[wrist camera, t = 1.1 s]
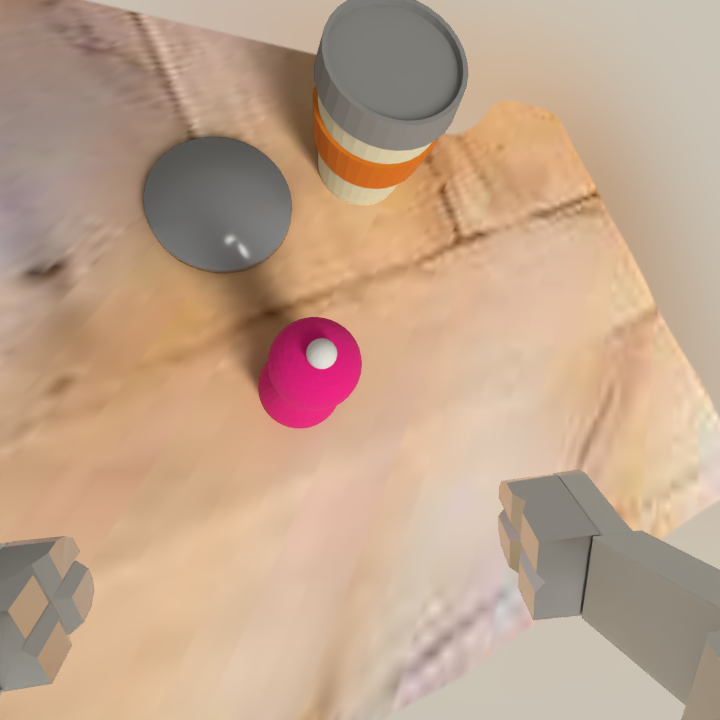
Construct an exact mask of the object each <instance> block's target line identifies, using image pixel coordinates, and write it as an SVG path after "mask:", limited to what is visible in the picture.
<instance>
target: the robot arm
mask: <svg viewBox="0 0 720 720" xmlns="http://www.w3.org/2000/svg"><path fill="white" fill-rule="evenodd" d="M499 499H500V501H501V503H502V505H503V507H504V510H503V511H502V512H501V513H500V515H499V516H498V523H499V535H500V541H501V546H502V549H503V552H504V555H505V558H506V560H507V563H508V565H509V567H510V568H512V569H513V570H515V571H516V572H517V573H519V582H518V588H519V590H520V592H521V594H522V597H523V599H524V601H525V603H526V606H527V608H528V610H529V612H530V614H531V617H532V619H533V620H540V619H549V618H559V617H569V616H579V615H582V618H583V619H584V620H585V621H586V622H588V624H590V625H591V626H592V627H593V628H594V629H596V630H597V631H598V632H599V633H600V634H601V635H603V636H604V637H605V638H606V639H607V640H609V641H610V642H611V643H612V644H613V645H615V646H616V647H617V648H618V649H619V650H620V651H622V652H623V653H624V654H625V655H627V656H628V657H629V658H630V659H631V660H632V661H634V662H635V663H636V664H637V665H638V666H640V667H641V668H642V669H643V670H644V671H645V672H647V673H648V674H649V675H650V676H651V677H652V678H654V679H655V680H656V681H657V682H658V683H660V684H661V685H662V686H663V687H664V688H666V689H667V690H668V691H669V692H670V693H672V694H673V695H674V696H675V697H676V698H677V699H679V700H680V701H681V702H682V703H683V704H685V705H686V707H685V709H684V713H683V716H682V719H681V720H720V570H719V569H717V568H715V567H713V566H711V565H709V564H707V563H705V562H703V561H701V560H699V559H697V558H695V557H693V556H691V555H689V554H687V553H685V552H683V551H681V550H679V549H677V548H675V547H673V546H671V545H669V544H667V543H665V542H663V541H661V540H659V539H657V538H655V537H653V536H651V535H649V534H647V533H645V532H643V531H632V530H631V528H630V527H629V526H628V525H627V523H626V522H625V521H624V520H623V519H622V517H621V516H620V515H619V514H618V512H617V511H616V510H615V509H614V508H613V506H612V505H611V504H610V503H609V502H608V500H607V499H606V498H605V497H604V495H603V494H602V493H601V492H600V491H599V489H598V488H597V487H596V486H595V484H594V483H593V482H592V481H591V480H590V478H589V477H588V476H587V475H586V473H585V472H583V471H581V470H574V471H567V472H561V473H554V474H553V475H543V476H535V477H528V478H520V479H513V480H505V481H501V484H500V487H499ZM79 552H80V550H79V548H78V546H77V545H76V543H75V541H74V539H73V538H71V537H66V536H62V537H52V538H42V539H32V540H23V541H13V542H10V543H0V696H1V692H3V691H10V690H16V689H22V688H28V687H34V686H40V685H47V684H52V683H53V681H54V679H55V677H56V675H57V673H58V671H59V670H60V668H61V666H62V664H63V662H64V660H65V658H66V656H67V654H68V652H69V650H70V648H71V646H72V644H71V640H70V634H71V633H72V632H73V631H74V630H75V629H77V628H78V627H79V626H80V625H81V624H82V623H83V622H84V621H85V619H86V617H87V615H88V613H89V611H90V609H91V606H92V600H93V594H94V585H93V578H92V576H91V573H90V571H89V569H88V568H87V567H85V566H84V565H82V564H81V563H79V562H77V561H76V559H77V557H78V554H79Z"/></svg>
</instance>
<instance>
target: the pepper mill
mask: <svg viewBox="0 0 720 720" xmlns="http://www.w3.org/2000/svg"><path fill="white" fill-rule="evenodd" d="M361 367H362V361H361V354H360V350H359V347H358V345H357V342H356V340H355V339H354V338H353V336H352V335H351V333H350V332H349V331H348V330H346V329H345V328H344V327H343V326H341V325H340V324H338V323H336V322H334V321H332V320H329V319H326V318H319V317H309V318H304V319H300V320H298V321H295V322H293V323H291V324H290V325H288V326H287V327H286V328H284V329H283V330H282V331H281V332H280V333H279V335H278V336H277V337H276V338H275V340H274V342H273V344H272V346H271V348H270V352H269V356H268V362H267V363H266V365H265V366H264V368H263V370H262V372H261V375H260V378H259V385H258V391H259V397H260V400H261V403H262V405H263V407H264V409H265V410H266V412H267V413H268V414H269V415H270V416H271V417H272V418H273V419H274V420H275V421H277V422H278V423H280V424H282V425H284V426H287V427H291V428H308V427H312V426H315V425H317V424H319V423H321V422H322V421H324V420H325V419H326V418H328V417H329V415H330V414H331V413H332V412H333V411H334V409H335V407H336V406H337V405H338V404H340V403H341V402H343V401H344V400H345V399H346V398H347V397H348V396H349V395H350V394H351V393H352V391H353V390H354V389H355V387H356V385H357V383H358V381H359V378H360V374H361Z"/></svg>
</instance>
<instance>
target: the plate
mask: <svg viewBox="0 0 720 720" xmlns="http://www.w3.org/2000/svg"><path fill="white" fill-rule="evenodd" d="M144 209H145V213H146V217H147V220H148V222H149V225H150V227H151V229H152V231H153V233H154V235H155V236H156V238H157V240H158V241H159V242H160V244H161V245H162V246H163V247H164V248H165V249H166V250H167V251H168V252H169V253H170V254H171V255H172V256H174V257H175V258H176V259H178V260H179V261H181V262H183V263H185V264H186V265H189V266H191V267H193V268H196V269H199V270H203V271H207V272H213V273H233V272H239V271H243V270H246V269H249V268H252V267H254V266H256V265H258V264H260V263H262V262H263V261H265V260H266V259H268V258H269V257H270V256H271V255H272V254H274V253H275V252H276V250H277V249H278V248H279V247H280V245H281V244H282V242H283V241H284V239H285V237H286V235H287V232H288V229H289V226H290V220H291V212H292V201H291V194H290V191H289V187H288V184H287V182H286V180H285V178H284V176H283V174H282V173H281V171H280V170H279V169H278V167H277V166H276V165H275V164H274V163H273V162H272V161H271V160H270V159H269V158H268V157H267V156H266V155H265V154H263V153H262V152H261V151H259V150H257V149H256V148H254V147H252V146H250V145H248V144H246V143H243V142H240V141H237V140H234V139H229V138H223V137H204V138H197V139H193V140H189V141H186V142H184V143H181V144H179V145H177V146H176V147H174V148H172V149H171V150H169V151H168V152H167V153H165V154H164V155H163V156H162V157H161V158H160V159H159V160H158V161H157V162H156V164H155V165H154V166H153V168H152V170H151V172H150V173H149V175H148V178H147V181H146V184H145V189H144Z"/></svg>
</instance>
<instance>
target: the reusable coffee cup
mask: <svg viewBox="0 0 720 720" xmlns="http://www.w3.org/2000/svg"><path fill="white" fill-rule="evenodd" d="M467 79H468V66H467V59H466V56H465V52H464V49H463V47H462V45H461V43H460V41H459V39H458V37H457V35H456V34H455V33H454V31H453V30H452V28H451V27H450V26H449V25H448V24H447V23H446V22H445V21H444V20H443V18H442V17H441V16H439V15H438V14H437V13H436V12H434V11H433V10H432V9H430V8H429V7H427V6H425V5H424V4H422V3H420V2H418V1H416V0H347V1H346V2H344V3H343V4H341V5H340V6H339V7H338V8H337V9H336V10H335V11H334V12H333V13H332V14H331V16H330V17H329V19H328V21H327V23H326V25H325V28H324V31H323V35H322V38H321V42H320V45H319V49H318V52H317V56H316V60H315V65H314V81H315V88H314V93H313V115H314V139H315V144H316V148H317V150H318V168H319V173H320V176H321V178H322V181H323V182H324V184H325V185H326V187H327V188H328V189H329V190H330V191H331V192H332V193H333V194H334V195H335V196H337V197H338V198H339V199H341V200H343V201H345V202H348V203H351V204H355V205H371V204H375V203H378V202H380V201H382V200H383V199H385V198H386V197H387V196H388V195H390V193H391V192H392V191H393V190H394V188H395V187H396V186H397V185H398V184H399V183H401V182H403V181H404V180H406V179H407V178H408V177H409V176H410V175H411V174H412V173H413V172H414V171H415V169H416V168H417V167H418V166H419V165H420V163H421V162H422V161H423V160H424V159H425V157H426V156H427V155H428V154H429V153H430V151H431V150H432V149H433V147H434V146H435V144H436V143H437V141H438V138H439V137H440V136H441V135H442V134H444V133H445V131H446V130H447V129H448V127H449V126H450V124H451V123H452V121H453V118H454V116H455V114H456V111H457V108H458V106H459V104H460V101H461V99H462V97H463V94H464V92H465V89H466V86H467Z"/></svg>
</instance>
